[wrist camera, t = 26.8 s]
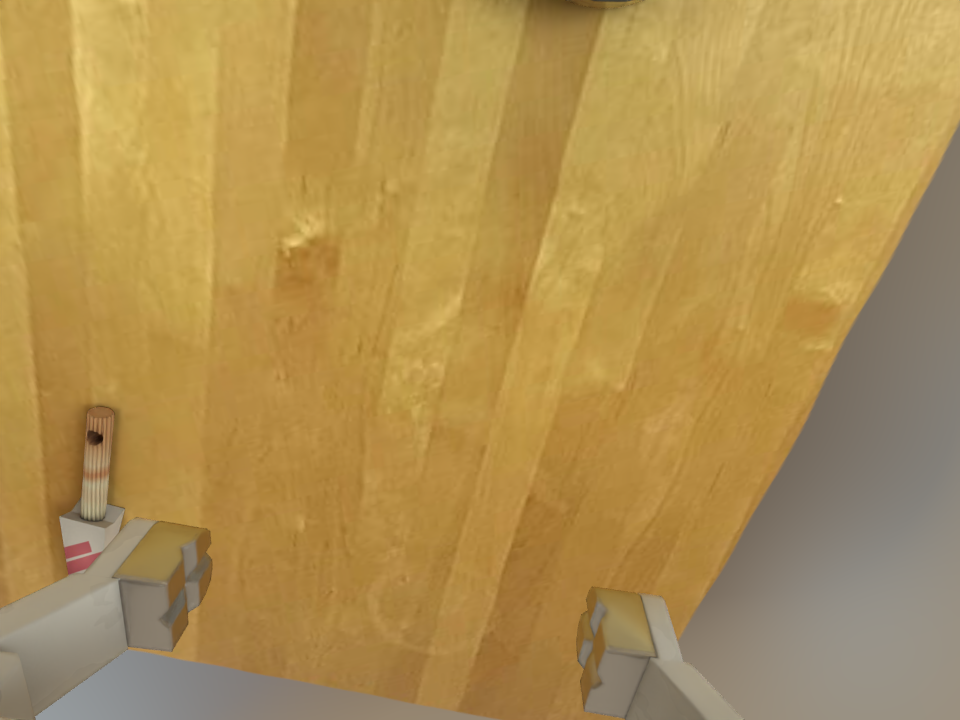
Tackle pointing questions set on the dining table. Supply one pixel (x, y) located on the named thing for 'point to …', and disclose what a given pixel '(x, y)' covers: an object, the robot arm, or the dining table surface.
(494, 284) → the dining table surface
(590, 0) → the pan
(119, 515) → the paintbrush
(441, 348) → the dining table surface
